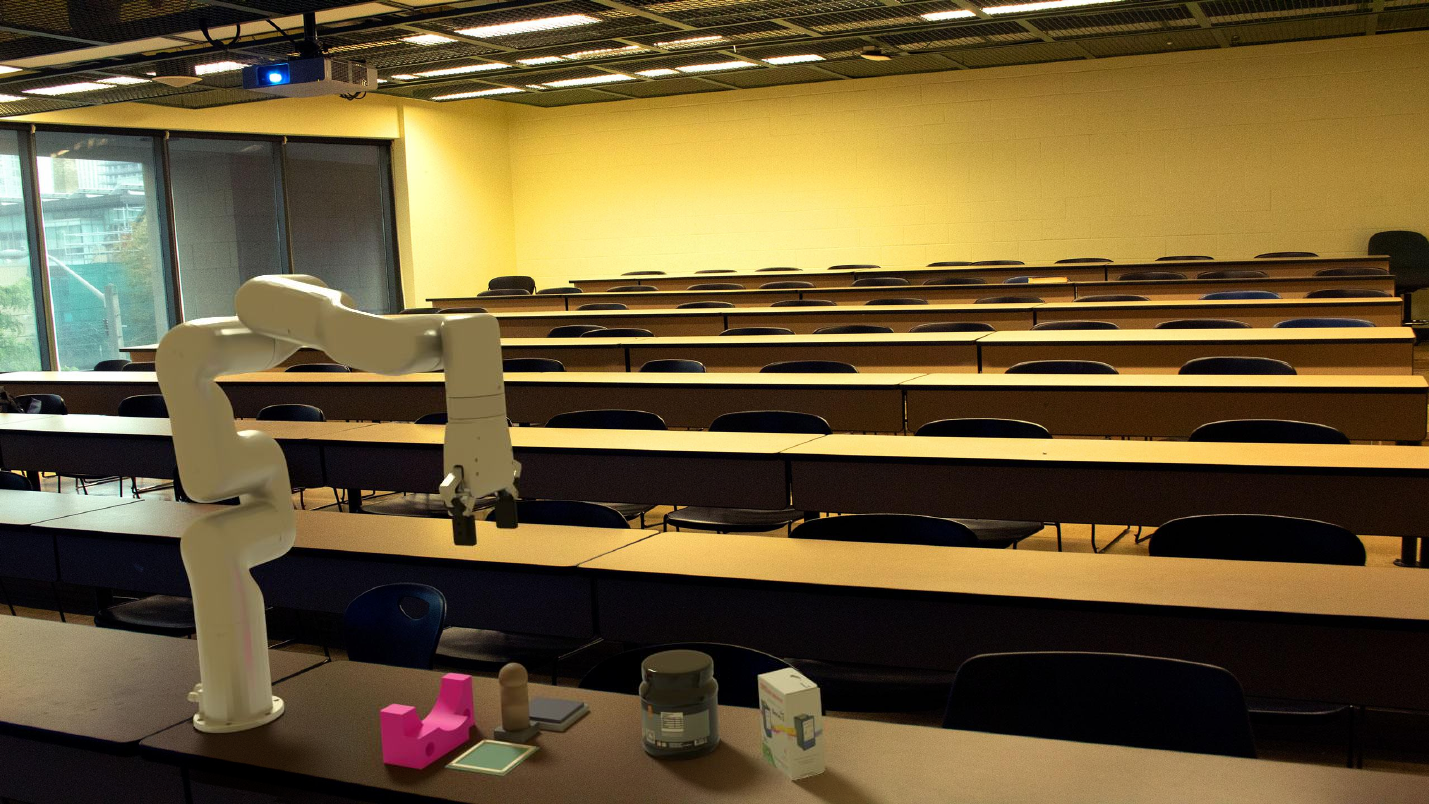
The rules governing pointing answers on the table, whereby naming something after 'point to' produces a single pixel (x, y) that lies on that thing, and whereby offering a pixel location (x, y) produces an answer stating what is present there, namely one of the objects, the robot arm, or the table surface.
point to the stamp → (514, 706)
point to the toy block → (429, 725)
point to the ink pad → (555, 712)
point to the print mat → (492, 757)
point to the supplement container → (679, 705)
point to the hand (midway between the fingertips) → (487, 536)
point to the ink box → (791, 723)
